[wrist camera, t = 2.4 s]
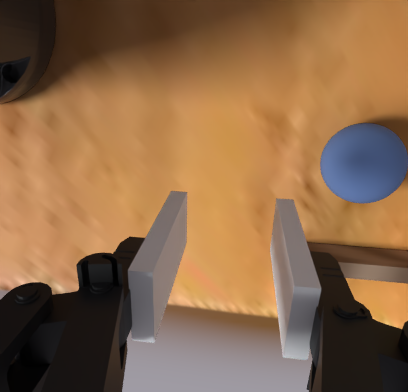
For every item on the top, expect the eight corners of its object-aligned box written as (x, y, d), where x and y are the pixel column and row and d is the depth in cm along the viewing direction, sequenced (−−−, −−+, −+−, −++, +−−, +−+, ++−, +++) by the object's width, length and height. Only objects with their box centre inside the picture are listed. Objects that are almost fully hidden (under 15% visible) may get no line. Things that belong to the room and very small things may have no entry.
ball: (309, 184, 31) (323, 213, 25) (320, 114, 28) (337, 129, 23) (380, 189, 30) (410, 219, 25) (397, 118, 28) (435, 134, 22)
